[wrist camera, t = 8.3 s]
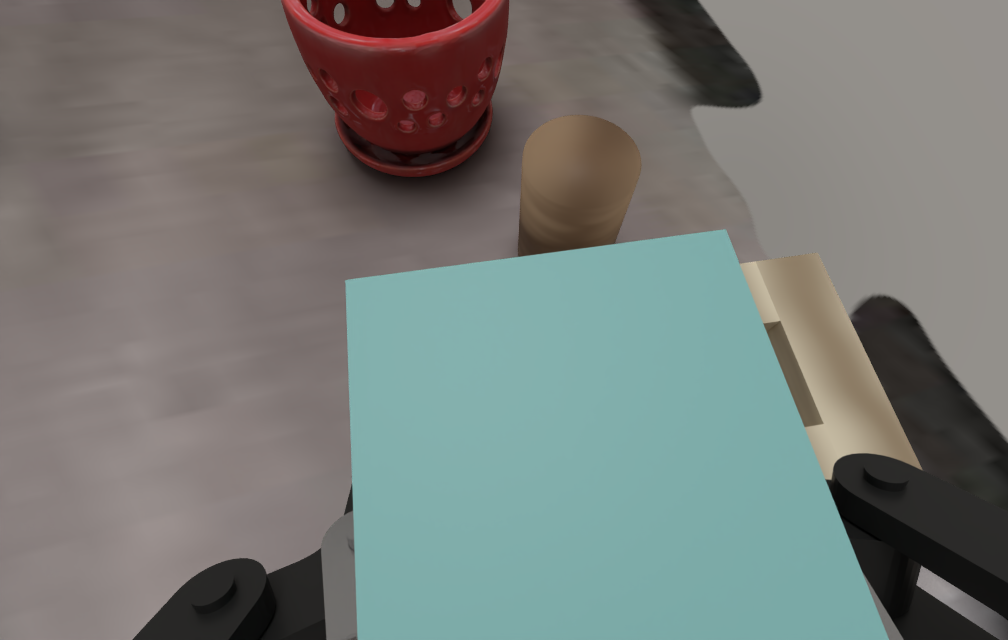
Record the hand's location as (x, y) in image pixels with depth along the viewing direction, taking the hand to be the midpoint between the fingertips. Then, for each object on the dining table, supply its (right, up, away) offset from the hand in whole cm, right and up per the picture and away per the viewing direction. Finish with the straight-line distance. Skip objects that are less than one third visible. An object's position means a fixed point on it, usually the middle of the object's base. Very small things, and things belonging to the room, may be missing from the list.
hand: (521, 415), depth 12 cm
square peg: (0, -4, +5) cm, 6 cm away
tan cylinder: (+4, +7, +23) cm, 24 cm away
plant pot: (-7, +17, +28) cm, 33 cm away
